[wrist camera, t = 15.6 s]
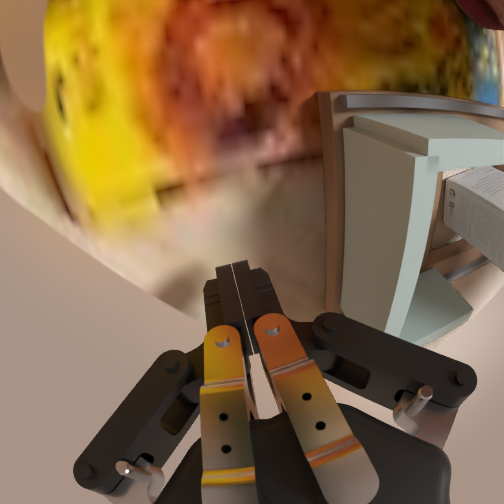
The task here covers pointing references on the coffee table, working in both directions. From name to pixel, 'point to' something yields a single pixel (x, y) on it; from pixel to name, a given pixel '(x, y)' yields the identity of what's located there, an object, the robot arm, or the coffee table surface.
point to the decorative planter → (484, 12)
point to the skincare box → (477, 210)
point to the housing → (403, 218)
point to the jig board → (332, 123)
